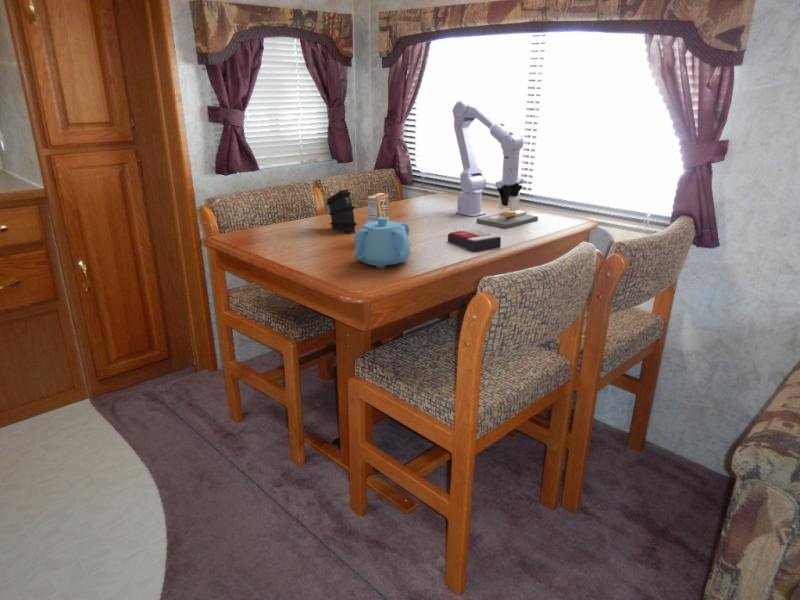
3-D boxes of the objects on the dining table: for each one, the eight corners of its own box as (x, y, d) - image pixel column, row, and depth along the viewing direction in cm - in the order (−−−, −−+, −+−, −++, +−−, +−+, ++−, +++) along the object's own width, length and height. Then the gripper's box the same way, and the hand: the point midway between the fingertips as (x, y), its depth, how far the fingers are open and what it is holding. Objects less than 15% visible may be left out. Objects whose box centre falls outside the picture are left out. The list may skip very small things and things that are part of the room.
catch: (499, 216, 218) (499, 213, 217) (509, 213, 221) (509, 210, 221) (505, 217, 216) (506, 214, 215) (515, 215, 219) (515, 211, 219)
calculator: (473, 227, 196) (501, 234, 184) (473, 240, 198) (501, 247, 185) (447, 231, 191) (474, 239, 179) (447, 244, 192) (473, 252, 180)
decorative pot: (366, 253, 179) (364, 210, 175) (415, 256, 176) (415, 213, 171) (348, 268, 165) (346, 222, 160) (402, 272, 161) (401, 225, 156)
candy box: (378, 236, 199) (378, 192, 194) (389, 237, 198) (389, 193, 192) (367, 242, 192) (366, 196, 186) (378, 243, 190) (377, 197, 185)
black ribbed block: (352, 231, 199) (340, 190, 199) (334, 240, 210) (323, 201, 210) (361, 229, 201) (349, 188, 201) (343, 238, 212) (331, 200, 212)
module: (498, 208, 219) (499, 195, 217) (504, 207, 221) (505, 194, 219) (512, 211, 214) (512, 197, 212) (518, 209, 216) (519, 196, 215)
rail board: (476, 222, 218) (476, 215, 217) (508, 214, 230) (509, 208, 229) (505, 228, 208) (506, 221, 207) (537, 220, 221) (538, 213, 220)
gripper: (507, 171, 205) (504, 208, 210) (531, 167, 214) (528, 203, 219) (491, 169, 210) (490, 206, 215) (515, 165, 219) (513, 200, 224)
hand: (508, 204), depth 217 cm, fingers closed on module, 4 cm apart
